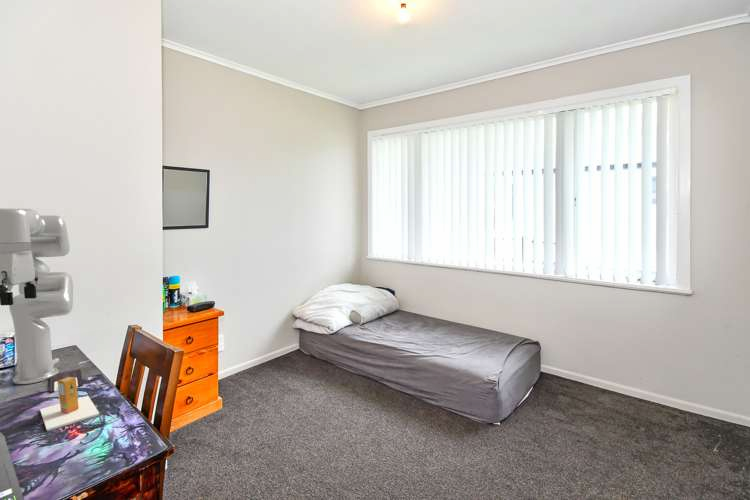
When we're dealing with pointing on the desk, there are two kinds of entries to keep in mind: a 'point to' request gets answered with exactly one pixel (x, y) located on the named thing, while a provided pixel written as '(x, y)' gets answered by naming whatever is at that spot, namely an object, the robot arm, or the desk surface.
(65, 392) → the supplement box
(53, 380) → the chocolate bar
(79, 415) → the mat
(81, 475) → the desk surface
